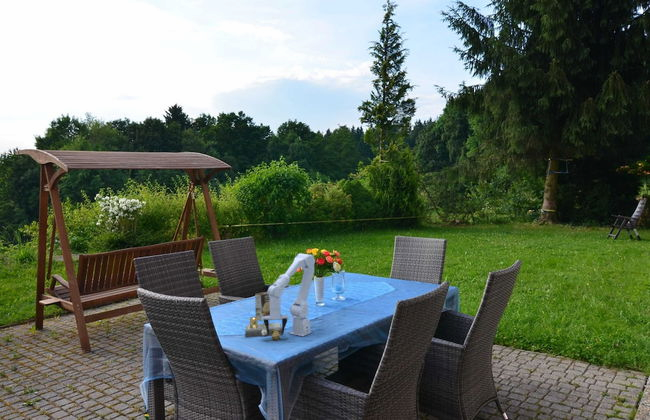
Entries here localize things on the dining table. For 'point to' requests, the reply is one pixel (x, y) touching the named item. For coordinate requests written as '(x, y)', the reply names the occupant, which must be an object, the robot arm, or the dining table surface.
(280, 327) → the scale
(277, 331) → the cylinder
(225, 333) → the dining table surface
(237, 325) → the dining table surface
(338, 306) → the dining table surface
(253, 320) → the cylinder
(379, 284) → the dining table surface
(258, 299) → the coffee box
